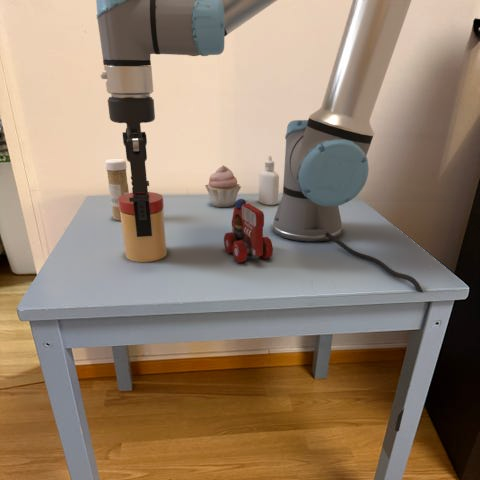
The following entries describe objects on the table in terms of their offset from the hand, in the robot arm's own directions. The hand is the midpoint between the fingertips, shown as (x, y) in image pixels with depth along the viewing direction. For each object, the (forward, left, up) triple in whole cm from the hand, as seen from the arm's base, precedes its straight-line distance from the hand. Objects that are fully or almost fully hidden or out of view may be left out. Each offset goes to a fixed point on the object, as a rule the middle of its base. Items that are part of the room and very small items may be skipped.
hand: (143, 227), depth 86 cm
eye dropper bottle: (+4, -45, -6) cm, 46 cm away
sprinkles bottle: (+22, -11, -6) cm, 25 cm away
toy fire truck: (-15, -13, -6) cm, 21 cm away
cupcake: (+12, -36, -6) cm, 38 cm away
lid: (0, 0, +5) cm, 5 cm away
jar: (0, 0, -5) cm, 5 cm away
